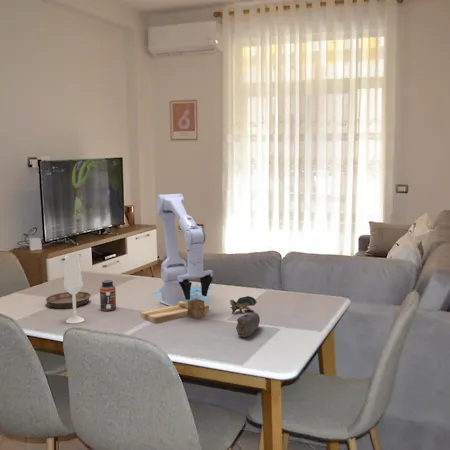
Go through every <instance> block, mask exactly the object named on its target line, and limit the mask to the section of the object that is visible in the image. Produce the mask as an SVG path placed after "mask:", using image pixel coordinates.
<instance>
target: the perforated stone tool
mask: <svg viewBox="0 0 450 450" xmlns="http://www.w3.org/2000/svg"><path fill="white" fill-rule="evenodd" d="M236 321H237V323H236V326H235V330H236V331H237V336H238V337H240V338H247V337H248V338H249V337H250V336H252V335H253V334H254V333H255V332H256V331H257V329H258V328H259V325H260V322H261V320H260V315H259V313H257V312H249V313H246V314H243V315H241V316H240V317H238V318H237V319H236Z"/></svg>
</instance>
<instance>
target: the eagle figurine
mask: <svg viewBox="0 0 450 450" xmlns="http://www.w3.org/2000/svg"><path fill="white" fill-rule="evenodd" d="M257 303H258V302H257V300H256V298H254V297H252V296H249V295H246V296H242V297H239V298H238V299H237V300H236V301H235V300H234V299H230V300H229V305H231V306H230V309H231V311H232V313H231V314H232V315H233V314H234V313H235V312H236V311H238V310H239V311H240V312H241V313H243V315H245V312H246V311H245V310H248V311H251V312H252V313H255V310H253V309H251V308H250V306H255V305H256V304H257Z"/></svg>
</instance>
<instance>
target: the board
mask: <svg viewBox="0 0 450 450" xmlns="http://www.w3.org/2000/svg"><path fill="white" fill-rule="evenodd" d="M186 303H188V302H187V301H186ZM204 305H205V313H206V312H209V311H210V305H208V304H205V303H204ZM185 317H189V316H188V308H186V307H183V306H180V305H178V304H176V305H171V306H168V305H166V306H164V307H158V308H154V309H150V310H145V311H141V312H140V318H141V319H144V320H145V321H149V322H151V323H153V324H156V325H157V324H160V323H163V322H168V321H172V320H177V319H181V318H185Z"/></svg>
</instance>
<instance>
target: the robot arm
mask: <svg viewBox="0 0 450 450" xmlns="http://www.w3.org/2000/svg"><path fill="white" fill-rule="evenodd" d="M156 212H157V215H158V217H160V218H161V221H162V222H161V223H162V229H163V235H164V244H165V245H164V246H165V253H166V259H164V261H162V263H160V264H161V265H160V268H161V269H160V277H161V279H162V281H163V283H162V284H161V300H160V301H159V303H160V304H162V305H166V306H171V305H176V304H178V302H179V301H182V302H187V301H188V300H191V287H192V282H191V280H194V279H195V280H196V279H199V281H200V286H201V287H200V288H201V290H200V291H201V296H203V297H208V292H209V288H210V285H211V283H212V282H213V276H214V274H213V273H214V271H213V270H212V269H206V270H204V244H205V242H206V232H205V230H204V228H203V227H201V226H198V225H197V223H196V222H195V220H194V218H193V216H191V215H188V212H187V210H186V208H185V198H184V195H183V194H182V193H170V194H162V193H161V194H158V196H157V197H156ZM175 218H177V219H178V220H179V221H178V226H179V228H180V229H181V231H182V233H183V234H184V236H183V237H184V239H183V240H184V243H185V250H186V252H187V255H186V257H187V262H186V260H184V258H181V257H180V252H179V244H178V236H177V230H176V222H175ZM185 300H187V301H185Z"/></svg>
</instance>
